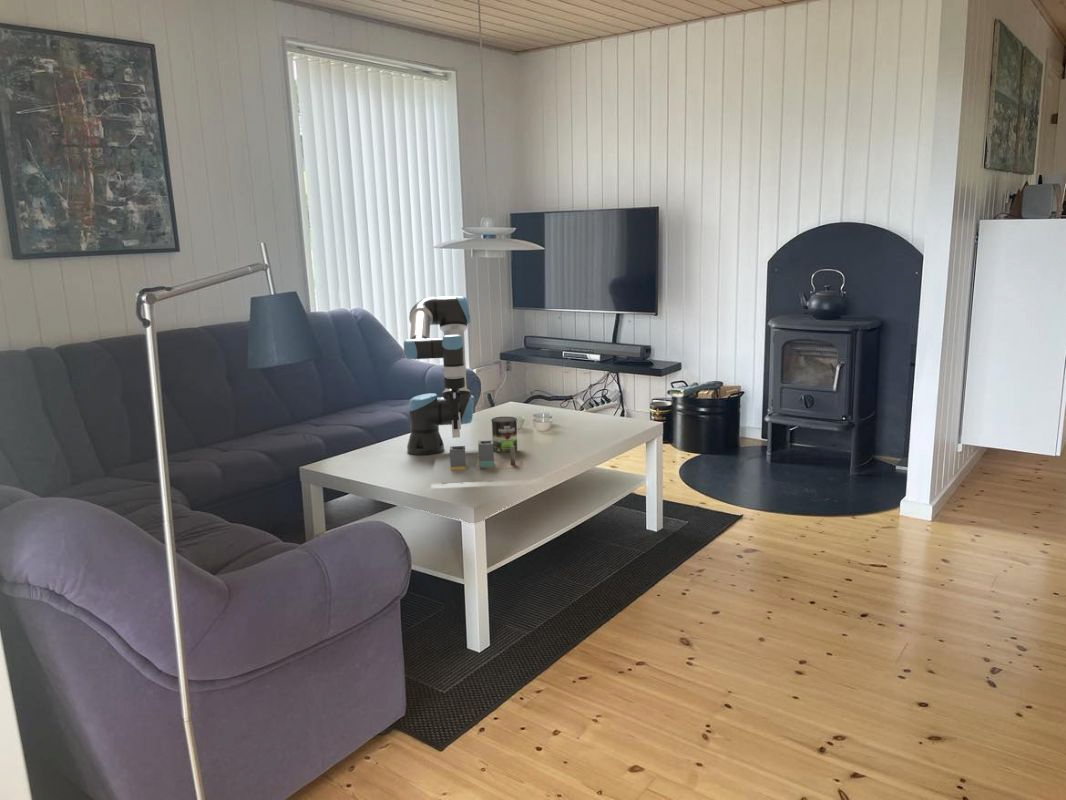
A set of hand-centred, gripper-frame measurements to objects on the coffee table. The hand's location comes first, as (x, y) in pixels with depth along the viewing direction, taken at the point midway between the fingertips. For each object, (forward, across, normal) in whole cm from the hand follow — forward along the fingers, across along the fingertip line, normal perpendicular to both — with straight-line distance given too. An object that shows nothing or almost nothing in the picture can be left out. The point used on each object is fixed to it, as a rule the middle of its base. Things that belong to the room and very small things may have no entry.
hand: (456, 433), depth 304 cm
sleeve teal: (+13, -1, +11) cm, 17 cm away
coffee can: (+15, -25, +18) cm, 34 cm away
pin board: (+15, -1, +16) cm, 21 cm away
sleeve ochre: (+15, 0, 0) cm, 15 cm away
